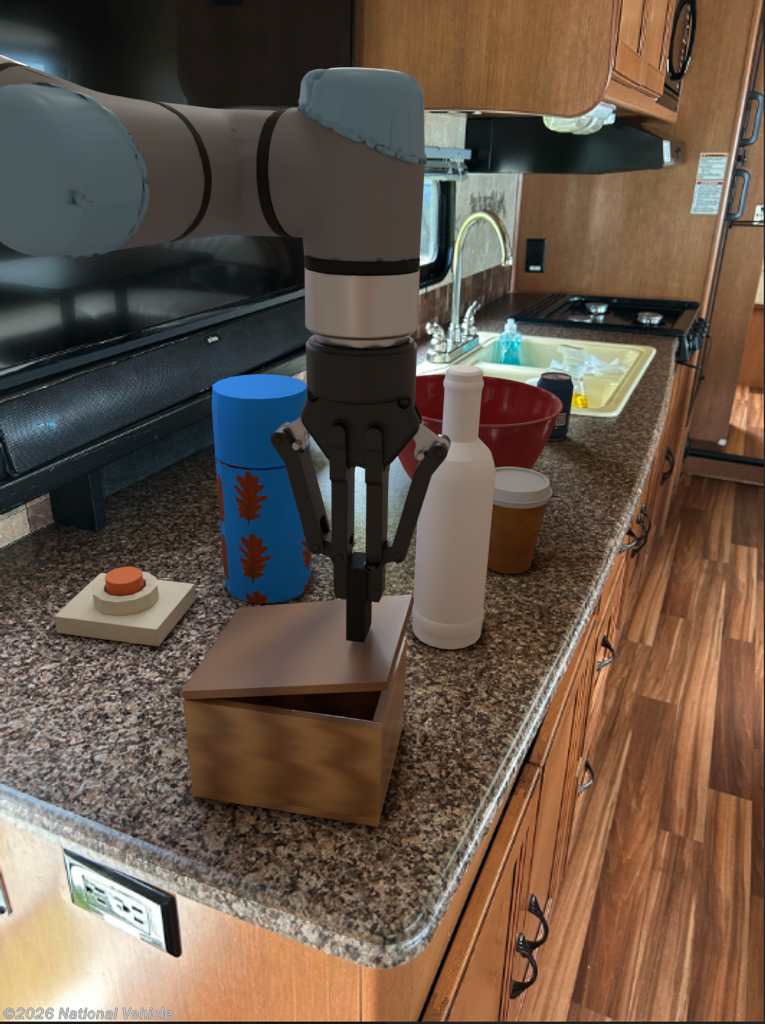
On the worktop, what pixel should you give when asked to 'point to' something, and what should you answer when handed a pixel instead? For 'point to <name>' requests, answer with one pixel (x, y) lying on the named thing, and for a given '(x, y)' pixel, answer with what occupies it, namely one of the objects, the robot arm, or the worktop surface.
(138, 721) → the worktop surface
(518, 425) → the mixing bowl
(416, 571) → the bottle
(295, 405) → the thermos
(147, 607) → the control block
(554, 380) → the soda can
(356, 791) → the wooden box
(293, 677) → the wooden box lid
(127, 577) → the button
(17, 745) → the worktop surface
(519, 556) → the disposable coffee cup
